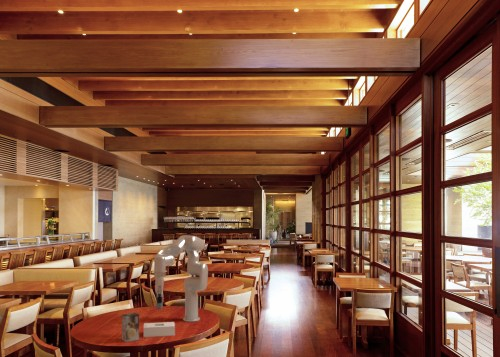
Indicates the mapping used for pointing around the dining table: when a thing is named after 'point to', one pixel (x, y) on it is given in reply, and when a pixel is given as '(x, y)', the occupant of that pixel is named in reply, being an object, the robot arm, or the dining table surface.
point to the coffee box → (130, 327)
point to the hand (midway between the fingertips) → (159, 302)
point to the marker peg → (159, 305)
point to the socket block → (159, 329)
